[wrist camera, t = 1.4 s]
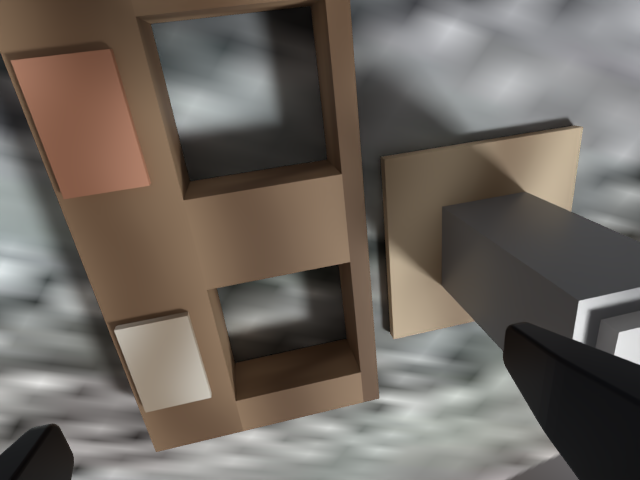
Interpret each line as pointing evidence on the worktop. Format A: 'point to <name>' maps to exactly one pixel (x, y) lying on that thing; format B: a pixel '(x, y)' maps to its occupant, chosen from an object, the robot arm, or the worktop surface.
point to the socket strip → (194, 213)
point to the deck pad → (454, 188)
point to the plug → (542, 271)
